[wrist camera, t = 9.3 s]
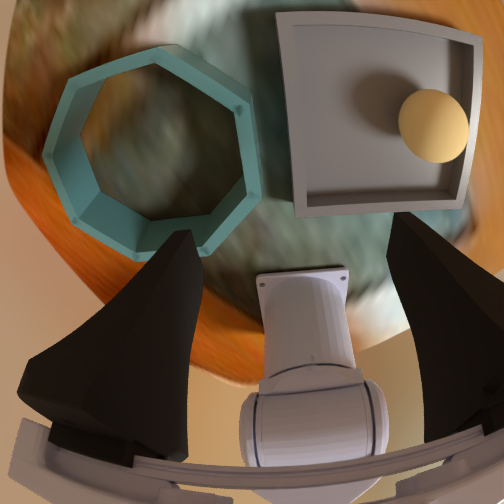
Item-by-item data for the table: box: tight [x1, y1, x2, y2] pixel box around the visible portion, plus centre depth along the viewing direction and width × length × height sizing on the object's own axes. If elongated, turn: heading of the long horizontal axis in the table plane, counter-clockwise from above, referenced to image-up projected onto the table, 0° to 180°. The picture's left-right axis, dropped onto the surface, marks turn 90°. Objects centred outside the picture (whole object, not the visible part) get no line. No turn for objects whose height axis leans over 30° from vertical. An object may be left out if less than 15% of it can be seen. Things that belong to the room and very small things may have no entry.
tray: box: [274, 11, 483, 218], centre depth 16 cm, size 13×13×2 cm
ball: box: [398, 89, 469, 163], centre depth 14 cm, size 4×4×4 cm
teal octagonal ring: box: [42, 44, 262, 262], centre depth 17 cm, size 13×13×4 cm
